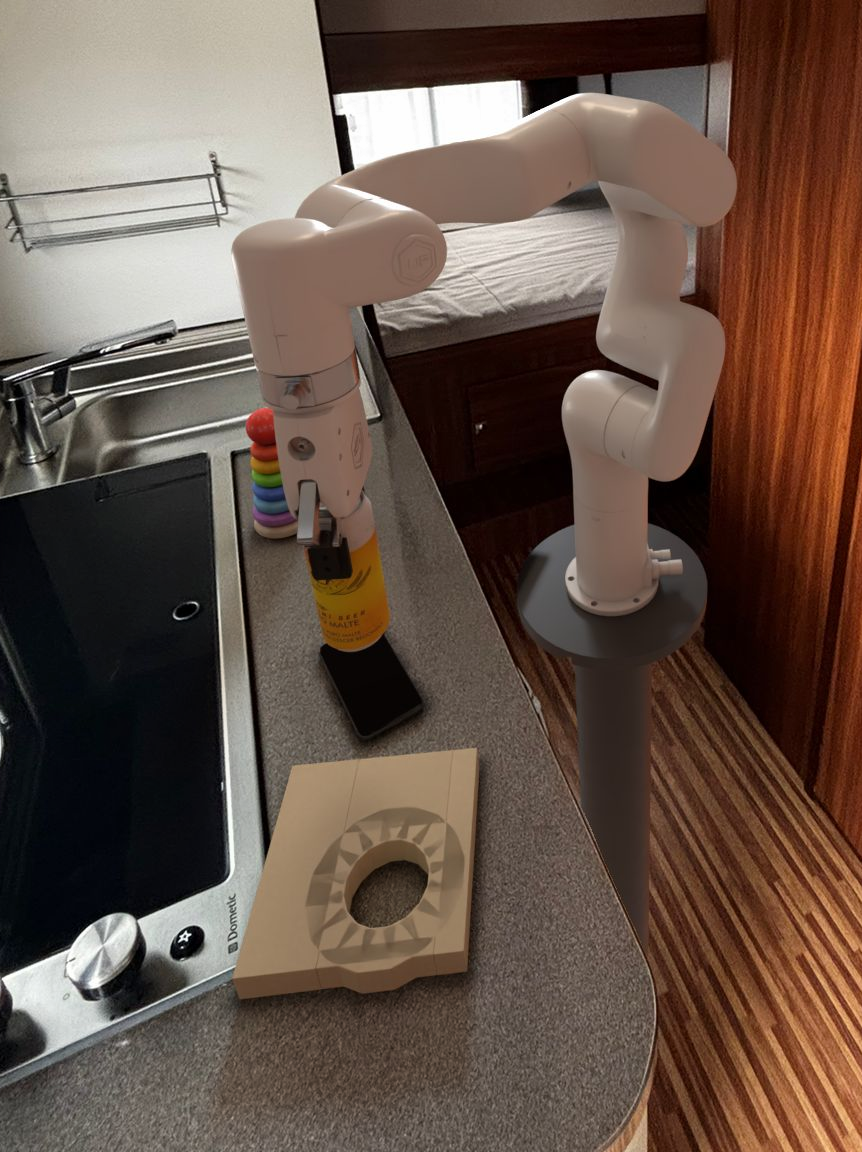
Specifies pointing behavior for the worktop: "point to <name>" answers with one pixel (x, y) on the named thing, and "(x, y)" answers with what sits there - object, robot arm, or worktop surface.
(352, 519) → the beer can
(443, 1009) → the worktop surface
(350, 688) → the smartphone
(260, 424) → the stacking toy
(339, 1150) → the worktop surface
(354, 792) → the pad base
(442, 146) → the robot arm
